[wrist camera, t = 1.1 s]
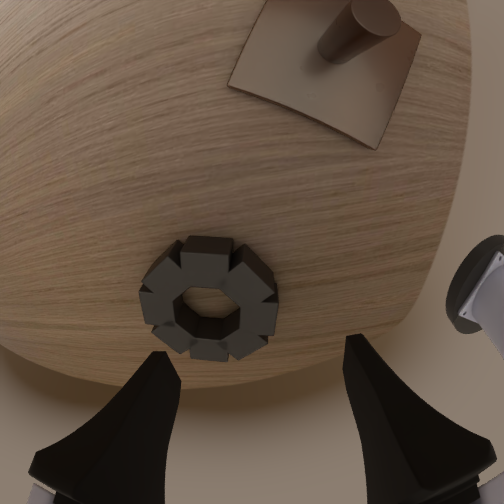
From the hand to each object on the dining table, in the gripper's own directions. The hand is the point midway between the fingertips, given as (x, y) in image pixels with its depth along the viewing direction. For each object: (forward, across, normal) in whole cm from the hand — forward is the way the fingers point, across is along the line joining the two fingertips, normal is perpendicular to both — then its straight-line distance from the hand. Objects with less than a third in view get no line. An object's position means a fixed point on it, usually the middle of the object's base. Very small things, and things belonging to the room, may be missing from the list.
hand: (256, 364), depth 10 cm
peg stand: (+9, -6, -12) cm, 17 cm away
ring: (+9, +4, +3) cm, 10 cm away
